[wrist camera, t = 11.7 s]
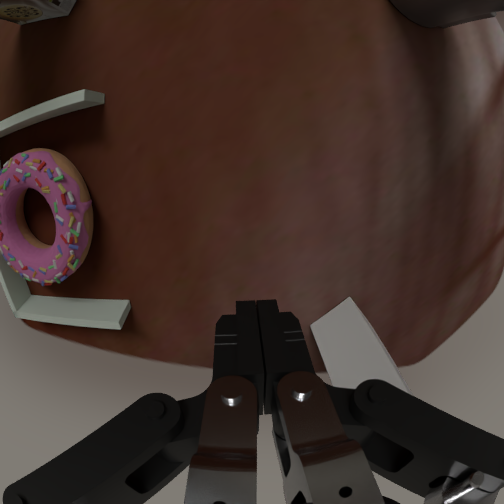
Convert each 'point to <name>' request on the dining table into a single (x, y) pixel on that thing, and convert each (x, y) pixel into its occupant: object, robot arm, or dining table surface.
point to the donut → (64, 210)
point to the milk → (353, 349)
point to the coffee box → (34, 10)
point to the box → (14, 285)
